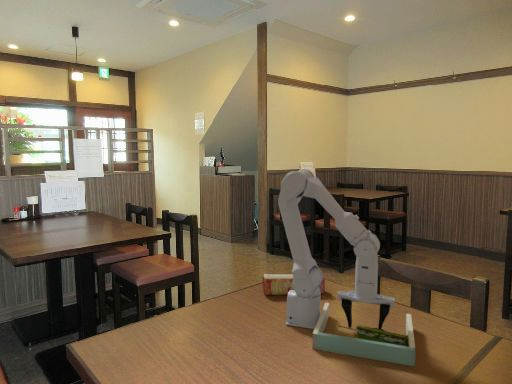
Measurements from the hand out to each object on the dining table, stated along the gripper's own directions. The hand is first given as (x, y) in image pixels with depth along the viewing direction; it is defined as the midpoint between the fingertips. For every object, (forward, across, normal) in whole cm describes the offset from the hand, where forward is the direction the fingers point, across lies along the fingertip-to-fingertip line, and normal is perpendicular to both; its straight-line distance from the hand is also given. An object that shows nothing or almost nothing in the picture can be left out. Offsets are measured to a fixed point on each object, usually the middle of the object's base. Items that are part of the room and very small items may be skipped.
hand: (364, 328), depth 101 cm
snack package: (+2, +25, -22) cm, 34 cm away
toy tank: (+2, -2, +4) cm, 5 cm away
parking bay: (+2, 0, +2) cm, 3 cm away
